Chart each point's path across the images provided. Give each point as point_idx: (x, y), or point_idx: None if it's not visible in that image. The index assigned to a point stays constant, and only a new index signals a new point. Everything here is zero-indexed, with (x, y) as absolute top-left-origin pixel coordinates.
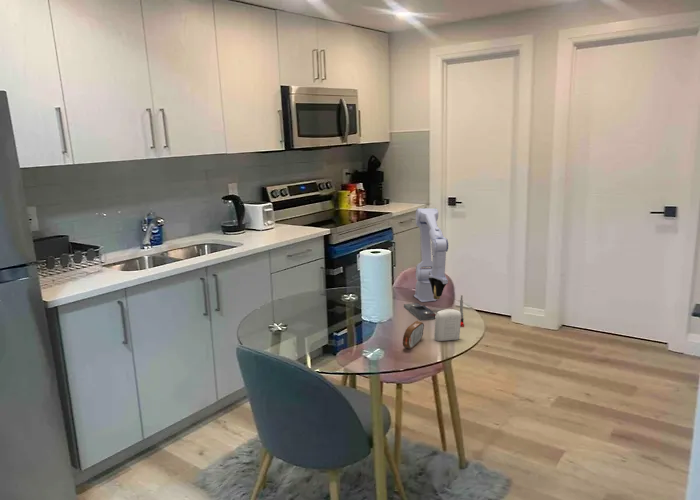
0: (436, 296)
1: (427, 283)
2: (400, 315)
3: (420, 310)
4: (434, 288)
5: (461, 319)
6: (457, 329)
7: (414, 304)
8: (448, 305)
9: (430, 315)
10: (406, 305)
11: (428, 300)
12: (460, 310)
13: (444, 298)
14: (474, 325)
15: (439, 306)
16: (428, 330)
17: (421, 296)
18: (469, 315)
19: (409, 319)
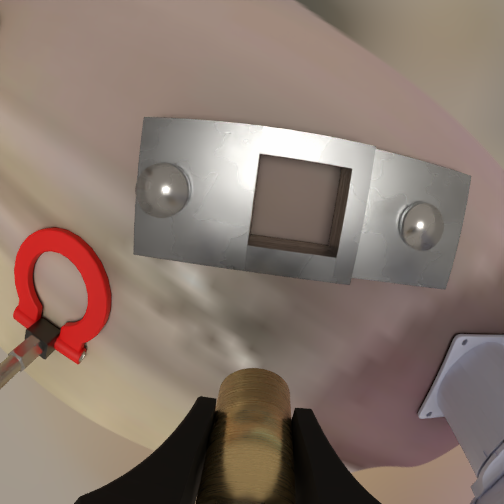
0: (224, 397)
1: (500, 446)
2: (319, 39)
3: (249, 177)
4: (251, 461)
5: (26, 335)
6: None
7: (421, 234)
8: (327, 436)
9: (138, 207)
10: (446, 176)
11: (441, 378)
12: (2, 362)
13: (412, 452)
14: (36, 365)
15: (343, 394)
16: (24, 103)
17: (484, 358)
18: (151, 433)
19: (215, 56)
